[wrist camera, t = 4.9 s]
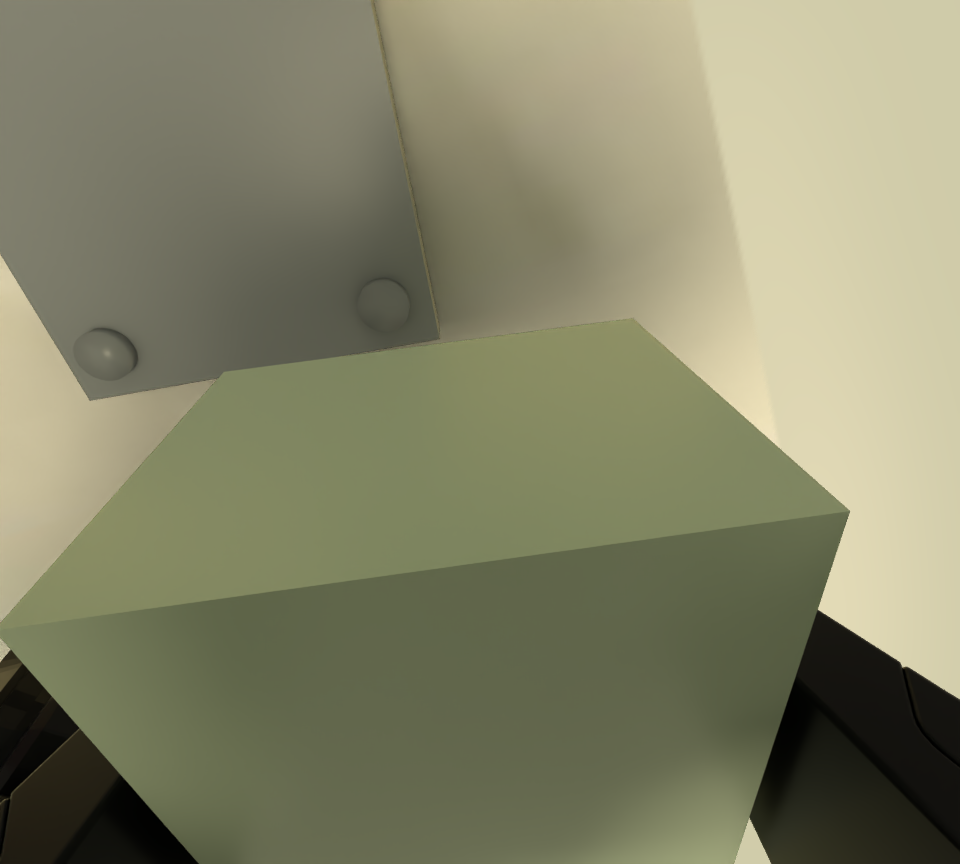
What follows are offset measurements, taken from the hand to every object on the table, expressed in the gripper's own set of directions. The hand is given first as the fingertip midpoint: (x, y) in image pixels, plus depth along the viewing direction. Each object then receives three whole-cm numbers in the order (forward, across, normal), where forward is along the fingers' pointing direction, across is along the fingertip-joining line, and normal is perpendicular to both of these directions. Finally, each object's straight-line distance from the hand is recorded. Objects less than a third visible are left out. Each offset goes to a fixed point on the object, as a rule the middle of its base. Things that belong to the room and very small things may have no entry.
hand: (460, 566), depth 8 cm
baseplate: (+12, +6, -6) cm, 15 cm away
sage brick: (+1, 0, 0) cm, 1 cm away
